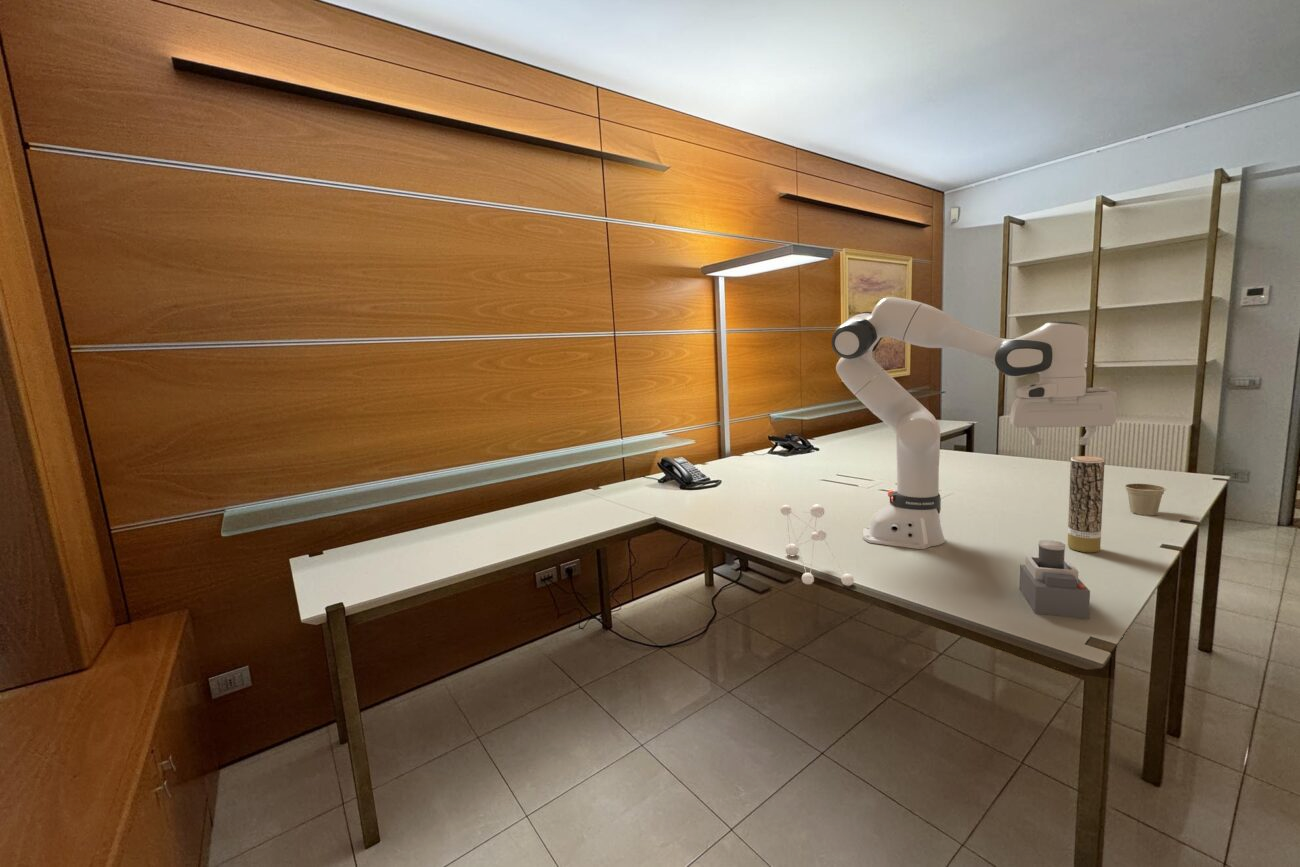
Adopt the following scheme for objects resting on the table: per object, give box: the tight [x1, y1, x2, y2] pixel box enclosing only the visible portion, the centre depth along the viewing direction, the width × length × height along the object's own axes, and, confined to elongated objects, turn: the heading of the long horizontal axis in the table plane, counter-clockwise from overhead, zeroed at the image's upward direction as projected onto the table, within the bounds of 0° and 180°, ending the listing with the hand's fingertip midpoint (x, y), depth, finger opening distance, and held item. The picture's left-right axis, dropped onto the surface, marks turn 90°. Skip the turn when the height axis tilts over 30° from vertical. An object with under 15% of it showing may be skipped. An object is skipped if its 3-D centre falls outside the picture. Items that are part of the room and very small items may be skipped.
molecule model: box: [780, 503, 855, 587], centre depth 135 cm, size 14×25×18 cm, turn 6°
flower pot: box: [1124, 482, 1167, 517], centre depth 161 cm, size 9×9×9 cm
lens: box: [1037, 539, 1066, 569], centre depth 110 cm, size 5×5×7 cm
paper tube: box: [1067, 455, 1106, 554], centre depth 136 cm, size 7×7×25 cm
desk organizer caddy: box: [1018, 555, 1091, 620], centre depth 110 cm, size 12×9×8 cm
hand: (1060, 444), depth 124 cm, fingers open, 8 cm apart
